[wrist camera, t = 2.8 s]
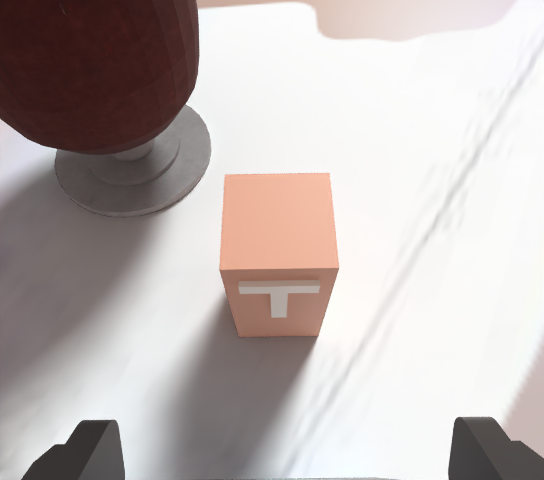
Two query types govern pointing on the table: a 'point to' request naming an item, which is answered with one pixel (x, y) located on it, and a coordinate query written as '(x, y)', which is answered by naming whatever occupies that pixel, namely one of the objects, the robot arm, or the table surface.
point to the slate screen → (322, 479)
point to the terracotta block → (278, 252)
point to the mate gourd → (107, 97)
